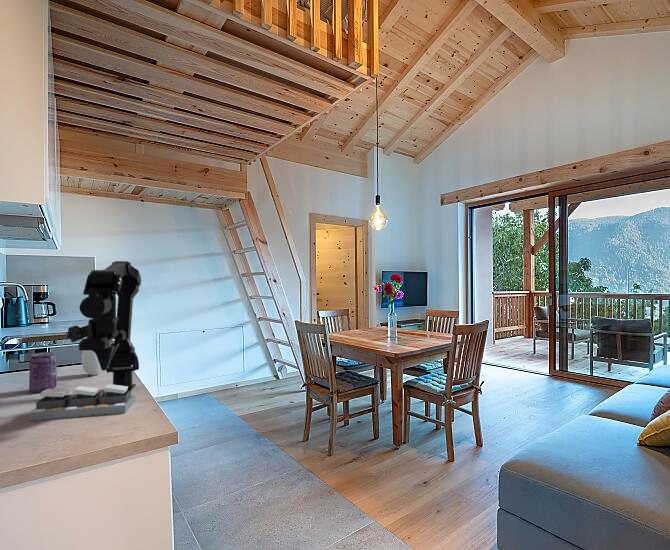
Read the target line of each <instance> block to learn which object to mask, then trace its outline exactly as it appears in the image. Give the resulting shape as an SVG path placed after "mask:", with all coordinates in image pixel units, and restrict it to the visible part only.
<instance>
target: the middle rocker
mask: <svg viewBox="0 0 670 550" xmlns="http://www.w3.org/2000/svg"><path fill="white" fill-rule="evenodd" d="M99 390H100V388H99V387H92V386H83V385H78V386H77V387H75V388H74V389H73V391H72V394H75V395H76V394H84V395H92V396H94V395H95V394H96V393H99Z"/></svg>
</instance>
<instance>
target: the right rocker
mask: <svg viewBox="0 0 670 550" xmlns="http://www.w3.org/2000/svg"><path fill="white" fill-rule="evenodd" d="M127 389H128V386H120V385H113V383H112V384H111V383H108V384H106V386H105V387H103V392H115V393H123V394H124V393H125V392H126V391H127Z"/></svg>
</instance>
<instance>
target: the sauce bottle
mask: <svg viewBox="0 0 670 550" xmlns="http://www.w3.org/2000/svg"><path fill="white" fill-rule="evenodd" d="M81 365H82V368H83V370H84V372H85V373H87V374H88V375H89V376H90V375H91V376H92V375H93V376H97V375H98V374H100V373H101V372H102V371H103V370H101V367H100V364H99V361H98V358H97V356H96V353H95V352H93V351H92V350H82V353H81Z"/></svg>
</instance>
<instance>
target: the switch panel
mask: <svg viewBox="0 0 670 550" xmlns="http://www.w3.org/2000/svg"><path fill="white" fill-rule="evenodd" d="M135 401H136V394H132V390H130V391H126V392H125V393H124V394H123V393H115V392H107V391H104V393H103V392H98V393H96V394H95V395H94V396H92V395H84V394H76V393H75V395H73V394H66V395H65V396H63V397H51V396H43V397H42V398H40V399H39V400H37V401H36V402H35V408H34V409H33V410H32V411H30V412H28V421H29V420H32V421H42V419H45V420H56V419H68V418H80V417H79V416H82V417H92V416H91V415H95V416H104V414H105V416H106V414H107V415H119V414H126V413H127V411H129V409H130V408H131V407H132V406H133V404H134V403H135Z"/></svg>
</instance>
